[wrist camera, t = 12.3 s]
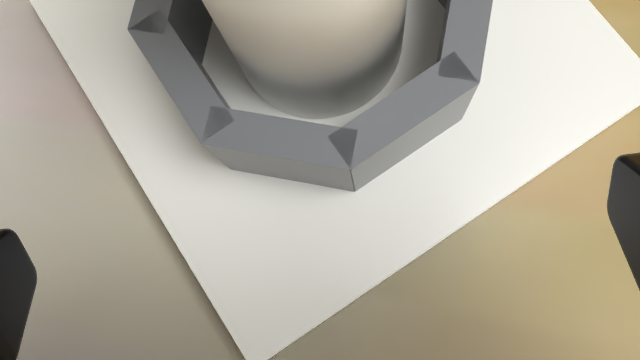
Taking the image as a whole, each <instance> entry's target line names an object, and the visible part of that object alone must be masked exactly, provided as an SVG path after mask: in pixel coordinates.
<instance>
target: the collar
mask: <svg viewBox="0 0 640 360" xmlns="http://www.w3.org/2000/svg"><path fill="white" fill-rule="evenodd" d="M29 1H30V3H31V4H32V6H33V8H34V9H35V11H36V12H37V14H38V16H39V17H40V19H41V21H42V22H43V24H44V26H45V27H46V29H47V31H48V32H49V34H50V36H51V37H52V39H53V41H54V42H55V44H56V46H57V47H58V49H59V51H60V52H61V54H62V56H63V57H64V59H65V61H66V62H67V64H68V66H69V67H70V69H71V71H72V72H73V74H74V76H75V77H76V79H77V81H78V82H79V84H80V86H81V87H82V89H83V90H84V92H85V94H86V95H87V97H88V99H89V100H90V102H91V104H92V105H93V107H94V109H95V110H96V112H97V114H98V115H99V117H100V119H101V120H102V122H103V124H104V125H105V127H106V129H107V130H108V132H109V134H110V135H111V137H112V139H113V140H114V142H115V144H116V145H117V147H118V149H119V150H120V152H121V154H122V155H123V157H124V159H125V160H126V162H127V164H128V165H129V167H130V169H131V170H132V172H133V173H134V175H135V177H136V178H137V180H138V182H139V183H140V185H141V187H142V188H143V190H144V192H145V193H146V195H147V197H148V198H149V200H150V202H151V203H152V205H153V207H154V208H155V210H156V212H157V213H158V215H159V217H160V218H161V220H162V222H163V223H164V225H165V227H166V228H167V230H168V232H169V233H170V235H171V237H172V238H173V240H174V242H175V243H176V245H177V247H178V248H179V250H180V251H181V253H182V255H183V256H184V258H185V260H186V261H187V263H188V265H189V266H190V268H191V270H192V271H193V273H194V275H195V276H196V278H197V280H198V281H199V283H200V285H201V286H202V288H203V290H204V291H205V293H206V295H207V296H208V298H209V300H210V301H211V303H212V305H213V306H214V308H215V310H216V311H217V313H218V315H219V316H220V318H221V320H222V321H223V323H224V325H225V326H226V328H227V330H228V331H229V333H230V334H231V336H232V338H233V339H234V341H235V343H236V344H237V346H238V348H239V349H240V351H241V353H242V354H243V356H244V358H245V359H246V360H268V359H270V358H271V357H273V356H274V355H276V354H277V353H279V352H280V351H282V350H283V349H284V348H286V347H287V346H289V345H290V344H292V343H293V342H295V341H296V340H298V339H299V338H301V337H302V336H303V335H305V334H306V333H308V332H309V331H311V330H312V329H314V328H315V327H317V326H318V325H320V324H321V323H322V322H324V321H325V320H327V319H328V318H330V317H331V316H333V315H334V314H336V313H337V312H339V311H340V310H341V309H343V308H344V307H346V306H347V305H349V304H350V303H352V302H353V301H355V300H356V299H358V298H359V297H360V296H362V295H363V294H365V293H366V292H368V291H369V290H371V289H372V288H374V287H375V286H377V285H378V284H380V283H381V282H382V281H384V280H385V279H387V278H388V277H390V276H391V275H393V274H394V273H396V272H397V271H399V270H400V269H401V268H403V267H404V266H406V265H407V264H409V263H410V262H412V261H413V260H415V259H416V258H418V257H419V256H420V255H422V254H423V253H425V252H426V251H428V250H429V249H431V248H432V247H434V246H435V245H437V244H438V243H439V242H441V241H442V240H444V239H445V238H447V237H448V236H450V235H451V234H453V233H454V232H456V231H457V230H458V229H460V228H461V227H463V226H464V225H466V224H467V223H469V222H470V221H472V220H473V219H475V218H476V217H478V216H479V215H480V214H482V213H483V212H485V211H486V210H488V209H489V208H491V207H492V206H494V205H495V204H497V203H498V202H499V201H501V200H502V199H504V198H505V197H507V196H508V195H510V194H511V193H513V192H514V191H516V190H517V189H518V188H520V187H521V186H523V185H524V184H526V183H527V182H529V181H530V180H532V179H533V178H535V177H536V176H537V175H539V174H540V173H542V172H543V171H545V170H546V169H548V168H549V167H551V166H552V165H554V164H555V163H556V162H558V161H559V160H561V159H562V158H564V157H565V156H567V155H568V154H570V153H571V152H573V151H574V150H575V149H577V148H578V147H580V146H581V145H583V144H584V143H586V142H587V141H589V140H590V139H592V138H593V137H595V136H596V135H597V134H599V133H600V132H602V131H603V130H605V129H606V128H608V127H609V126H611V125H612V124H614V123H615V122H616V121H618V120H619V119H621V118H622V117H624V116H625V115H627V114H628V113H630V112H631V111H633V110H634V109H635V108H637V107H638V106H640V58H639V57H638V56H637V55H636V54H635V53H634V52H633V50H632V49H631V48H630V47H629V46H628V45H627V44H626V42H625V41H624V40H623V39H622V38H621V37H620V36H619V34H618V33H617V32H616V31H615V30H614V29H613V28H612V26H611V25H610V24H609V23H608V22H607V21H606V20H605V18H604V17H603V16H602V15H601V14H600V13H599V12H598V10H597V9H596V8H595V7H594V6H593V5H592V4H591V2H590V1H589V0H407V7H406V16H405V25H404V34H403V43H402V52H401V56H400V60H399V63H398V66H397V68H396V70H395V73H394V74H393V76H392V78H391V79H390V81H389V82H388V84H387V85H386V86H385V88H384V89H383V90H382V91H381V92H380V93H379V94H378V95H377V96H376V97H375V98H374V99H372V100H371V101H370V102H368V103H367V104H366V105H364V106H362V107H360V108H359V109H357V110H355V111H352V112H350V113H348V114H345V115H341V116H337V117H332V118H326V119H310V118H301V117H297V116H293V115H290V114H287V113H285V112H282V111H280V110H278V109H277V108H275V107H273V106H271V105H270V104H269V103H267V102H266V101H265V100H263V99H262V98H261V97H260V96H259V95H258V94H257V93H256V91H255V90H254V89H253V88H252V86H251V85H250V83H249V82H248V80H247V78H246V76H245V75H244V73H243V71H242V69H241V68H240V66H239V64H238V62H237V61H236V59H235V57H234V56H233V54H232V52H231V50H230V49H229V47H228V45H227V43H226V42H225V40H224V38H223V36H222V35H221V33H220V31H219V30H218V28H217V26H216V24H215V23H214V21H213V19H212V17H211V16H210V14H209V12H208V10H207V9H206V7H205V5H204V3H203V2H202V0H29Z"/></svg>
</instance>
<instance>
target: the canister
mask: <svg viewBox="0 0 640 360" xmlns="http://www.w3.org/2000/svg"><path fill="white" fill-rule="evenodd" d="M202 2H203V3H204V5H205V7H206V9H207V10H208V12H209V14H210V16H211V17H212V19H213V21H214V23H215V24H216V26H217V28H218V30H219V31H220V33H221V35H222V36H223V38H224V40H225V42H226V43H227V45H228V47H229V49H230V50H231V52H232V54H233V56H234V57H235V59H236V61H237V62H238V64H239V66H240V68H241V69H242V71H243V73H244V75H245V76H246V78H247V80H248V82H249V83H250V85H251V86H252V88H253V89H254V90H255V91H256V93H257V94H258V95H259V96H260V97H261V98H262V99H263V100H265V101H266V102H267V103H269V104H270V105H271V106H273V107H275V108H277V109H278V110H280V111H282V112H285V113H287V114H290V115H293V116H297V117H301V118H310V119H326V118H332V117H337V116H341V115H345V114H348V113H350V112H352V111H355V110H357V109H359V108H360V107H362V106H364V105H366V104H367V103H368V102H370V101H371V100H372V99H374V98H375V97H376V96H377V95H378V94H379V93H380V92H381V91H382V90H383V89H384V88H385V86H386V85H387V84H388V82H389V81H390V79H391V78H392V76H393V74H394V73H395V70H396V68H397V66H398V63H399V60H400V56H401V52H402V43H403V34H404V25H405V16H406V7H407V0H202Z"/></svg>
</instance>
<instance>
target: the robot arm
mask: <svg viewBox="0 0 640 360" xmlns="http://www.w3.org/2000/svg"><path fill="white" fill-rule="evenodd" d="M607 210H608V215H609V219H610V221H611V224H612V226H613V228H614V231H615V233H616V236H617V238H618V240H619V243H620V245H621V247H622V250H623V252H624V255H625V257H626V259H627V262H628V264H629V266H630V269H631V271H632V274H633V276H634V278H635V281H636V283H637V285H638V288H639V290H640V153H633V154H625V155H620V156H619V157H618V158H616V160H615V162H614V164H613V169H612V175H611V182H610V188H609V194H608V200H607ZM36 283H37V274H36V270H35V267H34V265H33V263H32V261H31V259H30V257H29V256H28V254H27V252H26V250H25V248H24V246H23V245H22V243H21V241H20V239H19V237H18V236H17V234H16V233H15V232H14V231H12V230H10V229H0V360H16V359H17V356H18V352H19V348H20V344H21V341H22V337H23V333H24V329H25V325H26V322H27V318H28V314H29V310H30V306H31V303H32V299H33V295H34V291H35V287H36Z"/></svg>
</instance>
